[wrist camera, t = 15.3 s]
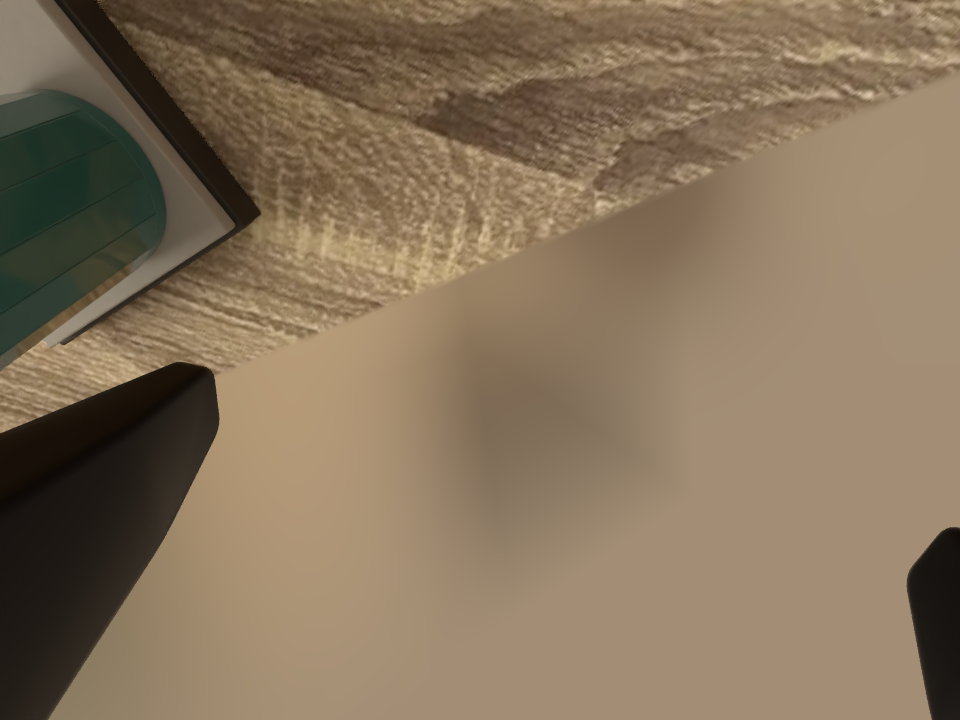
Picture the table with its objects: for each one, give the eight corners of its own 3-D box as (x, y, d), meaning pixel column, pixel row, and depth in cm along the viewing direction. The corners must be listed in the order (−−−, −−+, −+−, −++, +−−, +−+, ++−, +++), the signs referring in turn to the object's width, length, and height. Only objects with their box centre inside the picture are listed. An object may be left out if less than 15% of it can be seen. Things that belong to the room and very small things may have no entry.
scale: (262, 213, 21) (237, 235, 20) (83, 330, 25) (51, 355, 24) (14, -103, 17) (-41, -106, 16) (-152, 96, 21) (-208, 109, 20)
